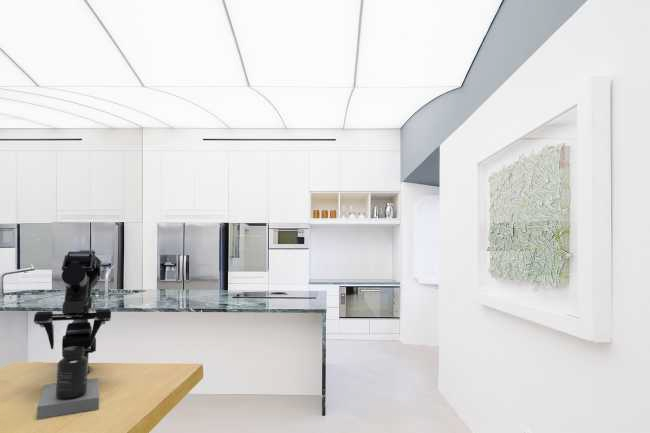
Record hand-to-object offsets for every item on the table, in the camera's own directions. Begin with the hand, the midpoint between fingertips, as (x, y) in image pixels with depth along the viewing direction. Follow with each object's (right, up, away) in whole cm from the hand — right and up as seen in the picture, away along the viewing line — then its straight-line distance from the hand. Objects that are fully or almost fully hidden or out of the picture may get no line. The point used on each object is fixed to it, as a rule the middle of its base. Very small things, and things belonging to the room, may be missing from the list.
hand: (71, 347), depth 116 cm
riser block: (+4, -12, -7) cm, 15 cm away
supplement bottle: (+6, -9, -10) cm, 15 cm away
